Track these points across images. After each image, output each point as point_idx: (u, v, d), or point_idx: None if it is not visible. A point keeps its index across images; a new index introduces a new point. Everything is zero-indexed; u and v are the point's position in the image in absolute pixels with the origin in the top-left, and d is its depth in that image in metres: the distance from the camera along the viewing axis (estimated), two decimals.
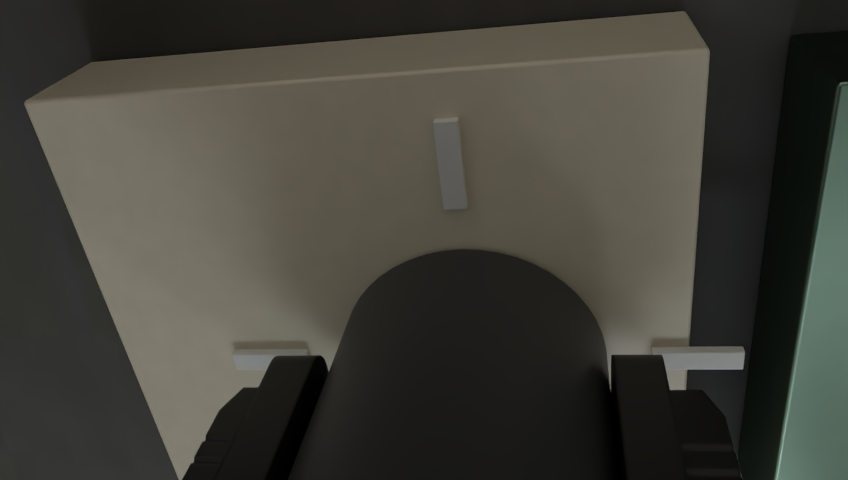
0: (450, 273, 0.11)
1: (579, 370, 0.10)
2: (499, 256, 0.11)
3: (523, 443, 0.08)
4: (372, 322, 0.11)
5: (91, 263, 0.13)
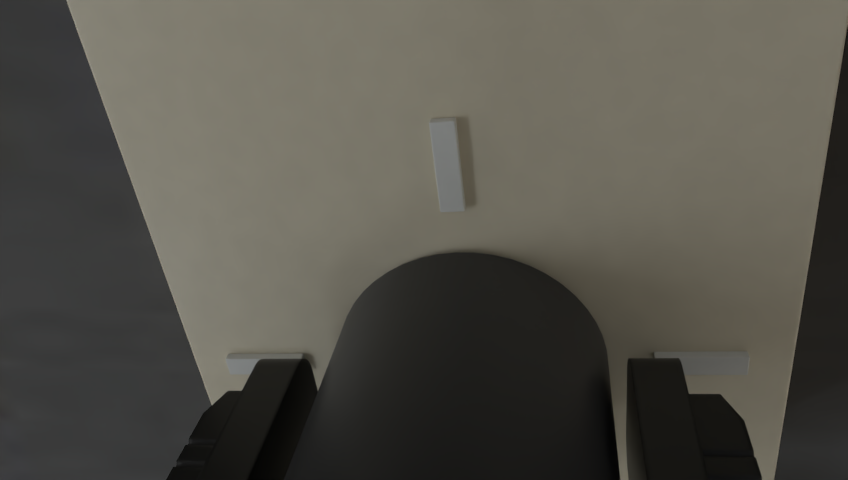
0: (444, 277, 0.11)
1: (577, 375, 0.10)
2: (493, 258, 0.11)
3: (518, 452, 0.08)
4: (365, 329, 0.10)
5: None
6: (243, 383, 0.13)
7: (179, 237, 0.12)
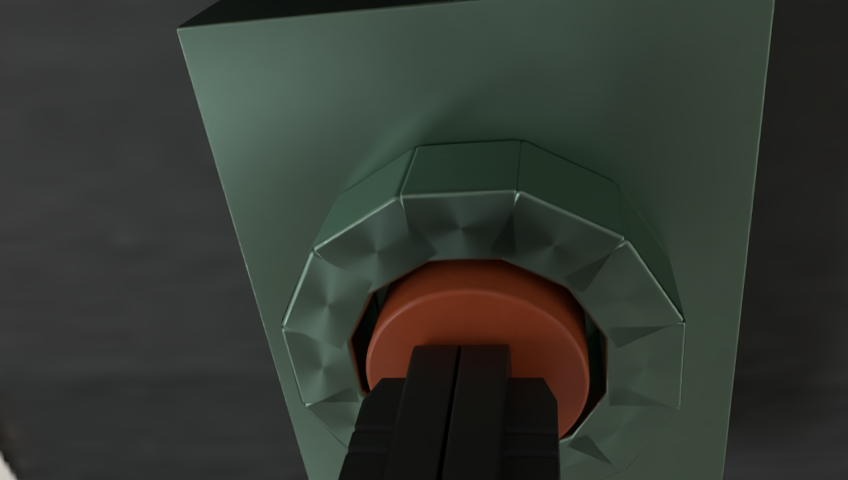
0: None
1: None
2: None
3: None
4: None
5: None
6: None
7: None
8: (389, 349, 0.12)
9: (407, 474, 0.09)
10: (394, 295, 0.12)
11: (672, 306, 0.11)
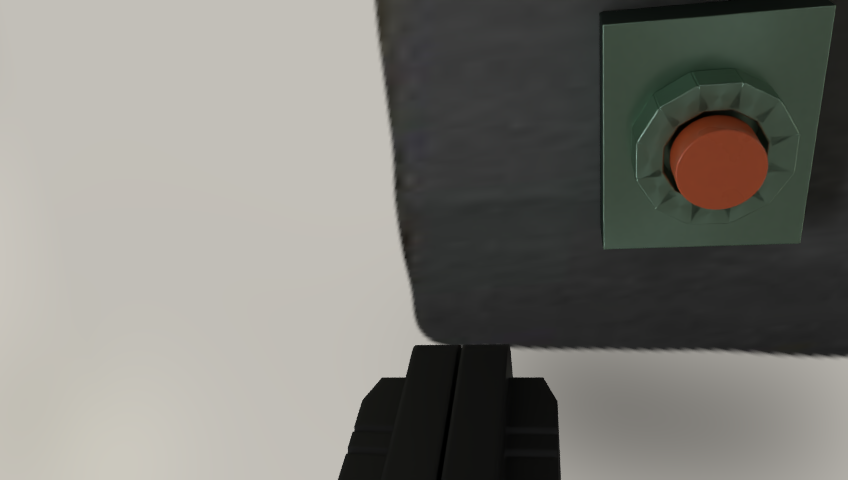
0: None
1: None
2: None
3: None
4: None
5: None
6: None
7: None
8: (689, 157, 0.30)
9: (407, 474, 0.09)
10: (688, 137, 0.30)
11: (795, 127, 0.30)
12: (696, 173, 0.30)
